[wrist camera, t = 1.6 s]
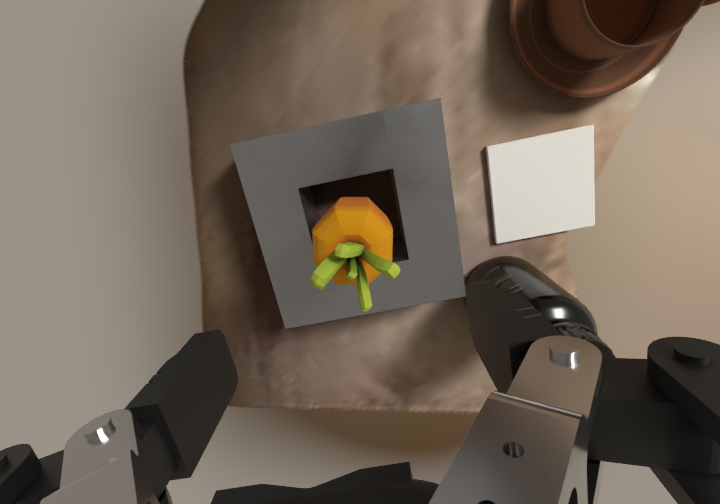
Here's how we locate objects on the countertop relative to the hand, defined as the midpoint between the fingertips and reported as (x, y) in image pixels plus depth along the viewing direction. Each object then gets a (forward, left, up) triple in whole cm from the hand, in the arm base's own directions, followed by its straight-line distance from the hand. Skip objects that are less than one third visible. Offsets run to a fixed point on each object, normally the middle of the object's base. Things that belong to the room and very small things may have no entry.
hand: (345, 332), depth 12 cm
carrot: (0, 0, -20) cm, 20 cm away
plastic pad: (+1, +15, -20) cm, 25 cm away
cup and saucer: (-11, +19, -20) cm, 30 cm away
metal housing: (0, 0, -20) cm, 20 cm away
